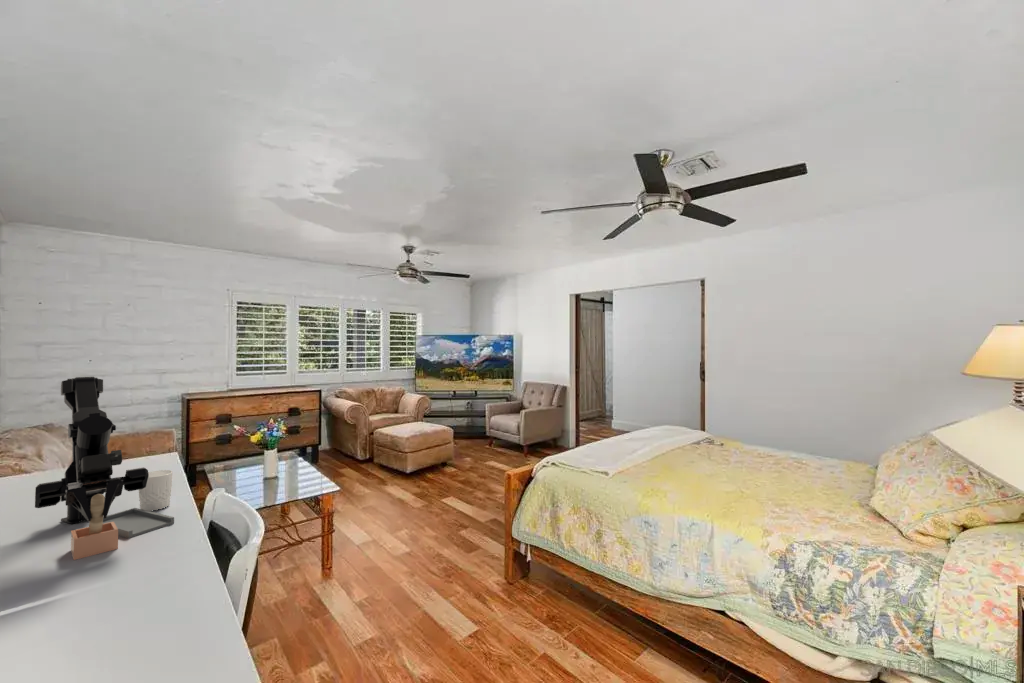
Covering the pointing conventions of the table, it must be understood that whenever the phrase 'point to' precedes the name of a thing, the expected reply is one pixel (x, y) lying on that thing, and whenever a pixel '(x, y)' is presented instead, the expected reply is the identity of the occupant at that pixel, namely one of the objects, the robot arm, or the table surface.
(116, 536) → the terracotta box
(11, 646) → the table surface
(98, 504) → the birch dowel
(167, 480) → the white cup
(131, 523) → the slate tray
